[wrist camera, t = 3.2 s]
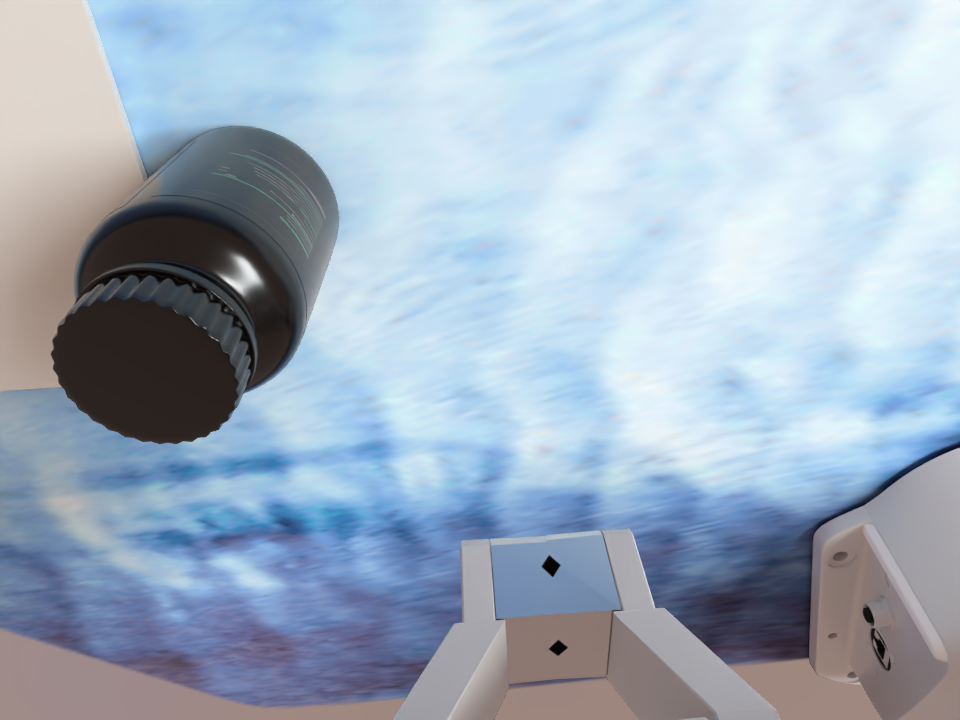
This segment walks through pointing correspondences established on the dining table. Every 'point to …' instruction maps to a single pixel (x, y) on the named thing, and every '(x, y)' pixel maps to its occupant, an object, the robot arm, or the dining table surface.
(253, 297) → the supplement bottle
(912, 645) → the robot arm
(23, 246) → the mat
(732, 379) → the dining table surface
